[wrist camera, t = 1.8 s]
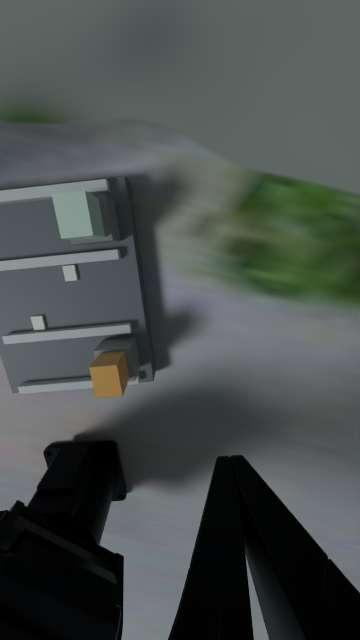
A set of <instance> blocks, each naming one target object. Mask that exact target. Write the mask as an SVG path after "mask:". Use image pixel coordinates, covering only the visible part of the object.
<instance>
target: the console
mask: <svg viewBox="0 0 360 640" xmlns="http://www.w3.org/2000/svg"><path fill="white" fill-rule="evenodd" d="M76 191H87V192H88V193H90V194H92V195H99V194H106V195H108V196H109V197H110V198H112V199H113V200H115V206H116V213H117V219H118V226H119V232H120V238H121V241H116V242H107V243H97V244H87V245H76V244H71V241H70V239H61V236H60V231H59V227H58V222H57V218H56V213H55V208H54V204H53V199H52V195H51V194H58V193H67V192H76ZM130 337H136V342H137V348H138V355H139V361H140V370H139V373H138V376H137V379H136V381H129V382H128V383H127V385H133V384H139V382H149V381H154V376H155V365H154V358H153V351H152V343H151V336H150V329H149V322H148V314H147V307H146V300H145V292H144V285H143V278H142V271H141V263H140V256H139V249H138V241H137V234H136V227H135V220H134V212H133V205H132V198H131V190H130V183H129V181H128V180H127V179H126V177H125V176H121V177H112V178H103V179H94V180H85V181H76V182H67V183H58V184H49V185H40V186H31V187H22V188H13V189H4V190H0V355H1V358H2V361H3V364H4V367H5V370H6V373H7V376H8V380H9V383H10V386H11V389H12V392H13V393H18V392H19V393H20V394H25V393H37V392H49V391H61V390H73V389H85V388H93V383H92V378H91V374H90V369H89V367H90V366H91V364H92V363H93V362H94V360H95V356H94V350H95V348H96V347H97V346H98V345H99V344H100V343H101V341H102V340H107V339H118V338H130Z"/></svg>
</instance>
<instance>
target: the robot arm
mask: <svg viewBox="0 0 360 640" xmlns="http://www.w3.org/2000/svg"><path fill="white" fill-rule="evenodd" d="M110 446H111V447H113V448H111V447H110ZM43 453H44V457H45V460H46V463H47V467H48V469H47V471H46V473H45V474H44V476H43V478H42V479H41V481H40V482H39V484H38V486H37V491H36V493H35V494H34V496H33V498H32V499H31V501H30V503H29V504H28V506H27V507H26V506H24V503H22V502H21V501H19V500H17V501H16V503H15V504H14V505H13V506H12V508H11V509H10V510H9V511H8V510H5V511H0V640H121V636H122V628H123V573H124V556H122V555H120V554H118V553H116V554H115V553H113V552H111V551H109V550H107V549H106V548H104V547H102V546H100V545H99V544H100V541H101V537H102V533H103V530H104V526H105V522H106V519H107V515H108V512H109V508H110V504H111V501H122V500H124V499H125V498H126V495H127V491H126V486H125V481H124V476H123V471H122V466H121V461H120V456H119V451H118V446H117V443H116V442H114V441H100V442H87V443H74V444H61V445H49V446H47V447H46V449H45V450H44V452H43ZM245 554H246V557H247V561H248V565H249V568H250V572H251V575H252V579H253V583H254V586H255V590H256V593H257V597H258V601H259V604H260V608H261V612H262V615H263V619H264V622H265V626H266V630H267V633H268V637H269V640H360V593H359V592H358V590H357V589H356V588H355V587H354V586H353V585H352V584H351V582H350V581H349V580H348V579H347V578H346V577H345V576H344V574H343V573H342V572H341V571H340V570H339V569H338V567H337V566H336V565H335V564H334V563H333V561H332V560H331V559H328V556H327V554H326V553H325V552H324V551H323V550H322V549H321V547H320V546H319V545H318V544H317V543H316V541H315V540H314V539H313V538H312V537H311V536H310V534H309V533H308V532H307V531H306V530H305V528H304V527H303V526H302V525H301V524H300V523H299V521H298V520H297V519H296V518H295V517H294V515H293V514H292V513H291V512H290V511H289V510H288V508H287V507H286V506H285V505H284V504H283V502H282V501H281V500H280V499H279V498H278V497H277V495H276V494H275V493H274V492H273V491H272V489H271V488H270V487H269V486H268V485H267V484H266V482H265V481H264V480H263V479H262V478H261V476H260V475H259V474H258V473H257V472H256V471H255V469H254V468H253V467H252V466H251V465H250V463H249V462H248V461H247V460H246V459H245V458H244V456H242V455H232V456H230V457H229V456H219V457H217V459H216V463H215V467H214V471H213V475H212V479H211V483H210V487H209V491H208V495H207V499H206V503H205V507H204V511H203V515H202V519H201V523H200V527H199V531H198V535H197V539H196V543H195V547H194V551H193V555H192V559H191V563H190V568H189V570H188V574H187V578H186V582H185V586H184V590H183V593H182V597H181V600H180V604H179V608H178V611H177V614H176V617H175V620H174V623H173V626H172V629H171V632H170V635H169V638H168V640H254V637H253V627H252V617H251V607H250V597H249V587H248V577H247V567H246V557H245Z"/></svg>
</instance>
